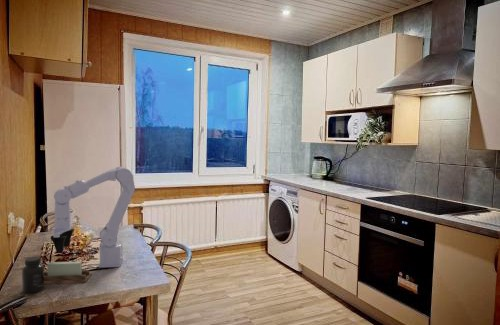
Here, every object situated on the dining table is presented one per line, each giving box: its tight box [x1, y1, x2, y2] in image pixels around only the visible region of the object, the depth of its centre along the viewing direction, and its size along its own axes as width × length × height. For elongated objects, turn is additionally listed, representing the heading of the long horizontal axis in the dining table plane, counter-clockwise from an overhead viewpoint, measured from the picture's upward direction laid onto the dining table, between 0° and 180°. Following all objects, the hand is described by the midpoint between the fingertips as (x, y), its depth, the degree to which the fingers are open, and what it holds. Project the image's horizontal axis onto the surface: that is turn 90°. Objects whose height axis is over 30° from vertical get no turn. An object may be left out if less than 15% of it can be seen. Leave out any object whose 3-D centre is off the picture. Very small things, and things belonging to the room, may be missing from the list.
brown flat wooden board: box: [44, 269, 93, 285], centre depth 137 cm, size 18×8×2 cm, turn 99°
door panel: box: [46, 261, 83, 276], centre depth 137 cm, size 12×2×6 cm, turn 99°
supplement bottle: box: [21, 256, 45, 295], centre depth 127 cm, size 7×7×12 cm
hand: (63, 249), depth 144 cm, fingers open, 7 cm apart
